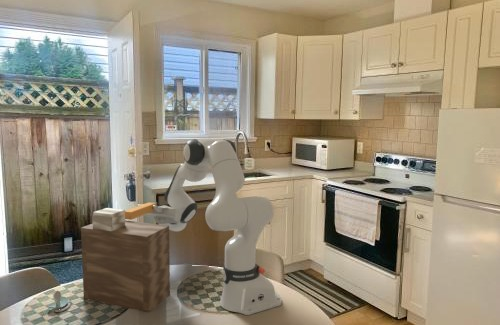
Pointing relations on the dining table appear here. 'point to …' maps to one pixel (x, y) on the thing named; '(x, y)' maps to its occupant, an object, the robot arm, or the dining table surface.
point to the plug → (139, 210)
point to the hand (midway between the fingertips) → (148, 206)
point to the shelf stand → (125, 261)
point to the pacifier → (59, 304)
